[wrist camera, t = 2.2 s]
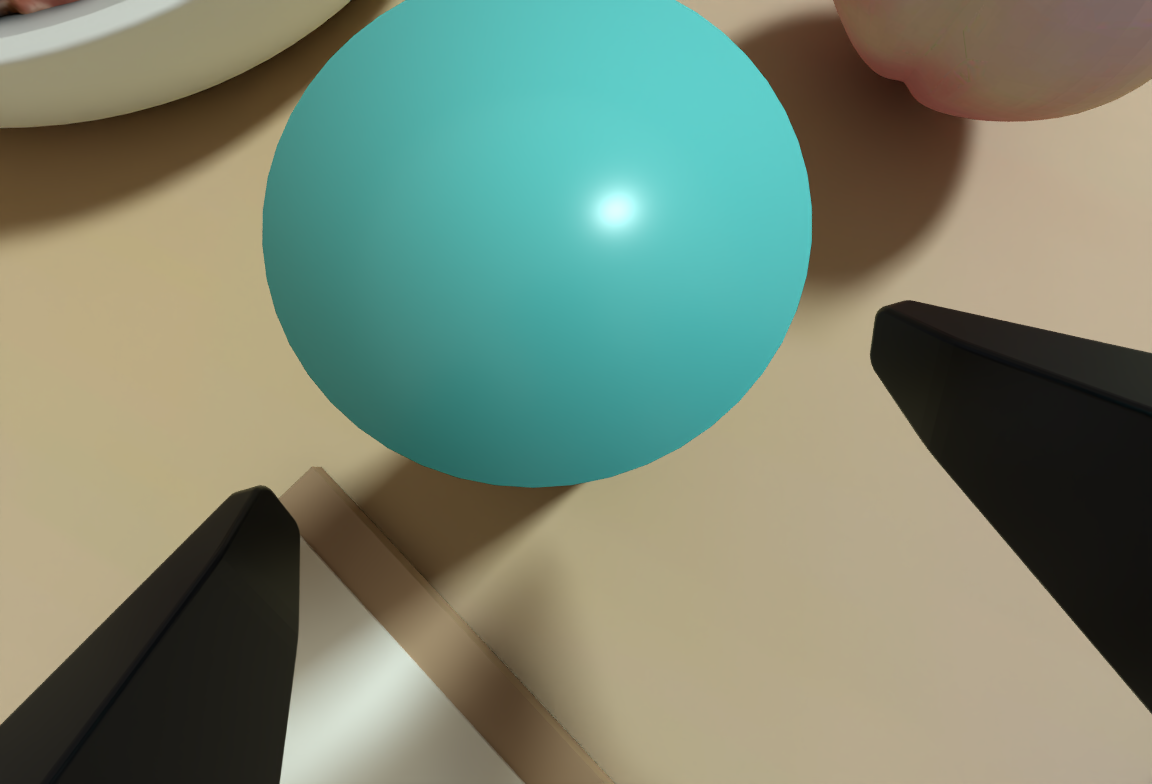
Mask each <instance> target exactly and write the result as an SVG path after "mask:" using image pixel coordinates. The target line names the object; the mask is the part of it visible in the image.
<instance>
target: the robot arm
mask: <svg viewBox="0 0 1152 784" xmlns="http://www.w3.org/2000/svg"><path fill="white" fill-rule="evenodd" d="M870 359H871V364H872V366H873V369H874V371H875V372H876V374H877V375H878V377H879V378H880V380H881V381H882V383H883V384H884V386H885V387H886V389H887V390H888V392H889V393H890V395H891V396H892V398H893V399H894V401H895V402H896V404H897V405H898V407H899V408H900V409H901V411H902V412H903V414H904V415H905V417H906V418H907V420H908V421H909V423H910V424H911V426H912V427H913V429H914V430H915V432H916V433H917V435H918V436H919V438H920V439H921V440H922V442H923V443H924V445H925V446H926V447H927V449H928V450H929V451H930V453H931V454H932V455H933V456H934V458H935V459H936V460H937V461H938V463H939V464H940V465H941V466H942V467H943V468H944V470H945V471H946V472H947V473H948V474H949V476H950V477H951V478H952V479H953V480H954V481H955V483H956V484H957V485H958V486H959V487H960V489H961V490H962V491H963V492H964V493H965V494H966V496H967V497H968V498H969V499H970V500H971V501H972V503H973V504H974V505H975V506H976V507H977V509H978V510H979V511H980V512H981V513H982V514H983V516H984V517H985V518H986V519H987V520H988V522H989V523H990V524H991V525H992V526H993V527H994V529H995V530H996V531H997V532H998V533H999V534H1000V536H1001V537H1002V538H1003V539H1004V540H1005V542H1006V543H1007V544H1008V545H1009V546H1010V547H1011V549H1012V550H1013V551H1014V552H1015V553H1016V555H1017V556H1018V557H1019V558H1020V559H1021V560H1022V562H1023V563H1024V564H1025V565H1026V566H1027V568H1028V569H1029V570H1030V571H1031V572H1032V573H1033V575H1034V576H1035V577H1036V578H1037V579H1038V580H1039V582H1040V583H1041V584H1042V585H1043V586H1044V588H1045V589H1046V590H1047V591H1048V592H1049V593H1050V595H1051V596H1052V597H1053V598H1054V599H1055V601H1056V602H1057V603H1058V604H1059V605H1060V606H1061V608H1062V609H1063V610H1064V611H1065V612H1066V614H1067V615H1068V616H1069V617H1070V618H1071V619H1072V621H1073V622H1074V623H1075V624H1076V625H1077V626H1078V628H1079V629H1080V630H1081V631H1082V632H1083V634H1084V635H1085V636H1086V637H1087V638H1088V639H1089V641H1090V642H1091V643H1092V644H1093V645H1094V647H1095V648H1096V649H1097V650H1098V651H1099V652H1100V654H1101V655H1102V656H1103V657H1104V658H1105V660H1106V661H1107V662H1108V663H1109V664H1110V665H1111V667H1112V668H1113V669H1114V670H1115V671H1116V672H1117V674H1118V675H1119V676H1120V677H1121V678H1122V680H1123V681H1124V682H1125V683H1126V684H1127V685H1128V687H1129V688H1130V689H1131V690H1132V691H1133V693H1134V694H1135V695H1136V696H1137V697H1138V698H1139V700H1140V701H1141V702H1142V703H1143V704H1144V706H1145V707H1146V708H1147V709H1148V710H1149V711H1150V713H1151V714H1152V353H1148V352H1144V351H1139V350H1135V349H1130V348H1126V347H1121V346H1117V345H1112V344H1107V343H1103V342H1098V341H1094V340H1089V339H1085V338H1080V337H1076V336H1071V335H1066V334H1062V333H1057V332H1053V331H1048V330H1044V329H1039V328H1035V327H1030V326H1025V325H1021V324H1016V323H1012V322H1007V321H1003V320H998V319H994V318H989V317H984V316H980V315H975V314H971V313H966V312H962V311H957V310H953V309H948V308H943V307H939V306H934V305H930V304H925V303H921V302H916V301H911V300H906V301H902V302H898V303H895V304H891V305H888V306H884V307H882V308H881V309H879V310H878V312H877V314H876V316H875V322H874V329H873V336H872V343H871V351H870ZM299 601H300V531H299V528H298V525H297V523H296V521H295V519H294V518H293V517H292V515H291V514H290V513H289V512H288V510H287V509H286V508H285V507H284V505H283V504H282V503H281V502H280V500H279V499H278V498H277V497H276V495H275V494H274V493H273V492H272V491H271V489H269V488H268V487H266V486H261V485H260V486H255V487H252V488H248V489H245V490H241V491H238V492H235V493H233V494H232V495H231V496H229V497H228V498H227V499H226V500H225V501H224V502H223V503H222V504H221V505H220V506H219V507H218V508H217V509H216V510H215V511H214V512H213V513H212V514H211V515H210V516H209V517H208V518H207V519H206V520H205V521H204V522H203V523H202V524H201V525H200V526H199V527H198V528H197V529H196V530H195V531H194V532H193V533H192V534H191V535H190V536H189V537H188V538H187V539H186V540H185V541H184V542H183V543H182V544H181V545H180V546H179V547H178V548H177V549H176V550H175V551H174V552H173V553H172V554H171V555H170V556H169V557H168V558H167V559H166V560H165V561H164V562H163V563H162V564H161V565H160V566H159V567H158V568H157V569H156V570H155V571H154V572H153V573H152V574H151V575H150V576H149V577H148V578H147V579H146V580H145V581H144V582H143V583H142V584H141V585H140V586H139V587H138V588H137V589H136V590H135V591H134V592H133V593H132V594H131V595H130V596H129V597H128V598H127V599H126V600H125V601H124V602H123V603H122V604H121V605H120V606H119V607H118V608H117V609H116V610H115V611H114V612H113V613H112V614H111V615H110V616H109V617H108V618H107V619H106V620H105V621H104V622H103V623H102V624H101V625H100V626H99V627H98V628H97V629H96V630H95V631H94V632H93V633H92V634H91V635H90V636H89V637H88V638H87V639H86V640H85V641H84V642H83V643H82V644H81V645H80V646H79V647H78V648H77V649H76V650H75V651H74V652H73V653H72V654H71V655H70V656H69V657H68V658H67V659H66V660H65V661H64V662H63V663H62V664H61V665H60V666H59V667H58V668H57V669H56V670H55V671H54V672H53V673H52V674H51V675H50V676H49V677H48V678H47V679H46V680H45V681H44V682H43V683H42V684H41V685H40V686H39V687H38V688H37V689H36V690H35V691H34V692H33V693H32V694H31V695H30V696H29V697H28V698H27V699H26V700H25V701H24V702H23V703H22V704H21V705H20V706H19V707H18V708H17V709H16V710H15V711H14V712H13V713H12V714H11V715H10V716H9V717H8V718H7V719H6V720H5V721H4V722H3V723H2V724H1V725H0V784H280V778H281V770H282V762H283V755H284V747H285V739H286V731H287V724H288V716H289V708H290V700H291V693H292V685H293V677H294V670H295V662H296V654H297V645H298V635H299Z"/></svg>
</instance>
